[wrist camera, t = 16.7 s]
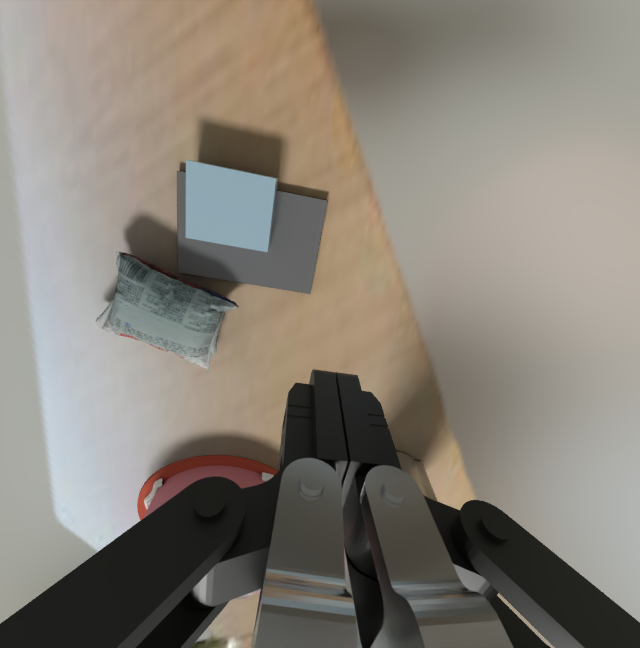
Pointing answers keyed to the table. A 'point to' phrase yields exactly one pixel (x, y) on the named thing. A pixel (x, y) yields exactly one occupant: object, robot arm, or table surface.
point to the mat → (257, 266)
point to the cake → (196, 468)
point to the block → (229, 206)
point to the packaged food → (164, 311)
